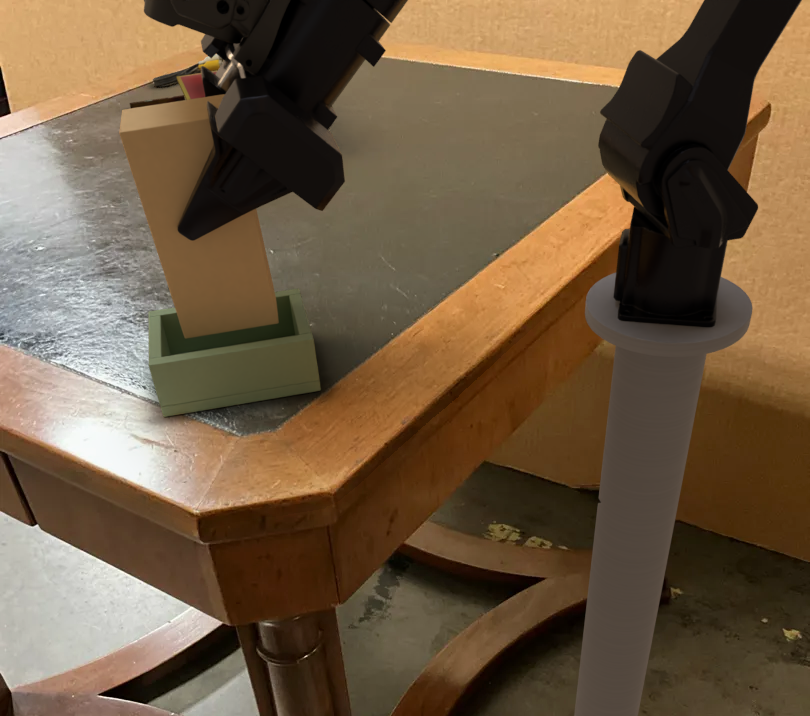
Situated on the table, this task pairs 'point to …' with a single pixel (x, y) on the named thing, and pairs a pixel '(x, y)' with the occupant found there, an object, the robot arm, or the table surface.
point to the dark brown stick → (156, 101)
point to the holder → (232, 360)
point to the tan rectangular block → (210, 254)
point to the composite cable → (190, 70)
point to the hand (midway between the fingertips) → (183, 223)
